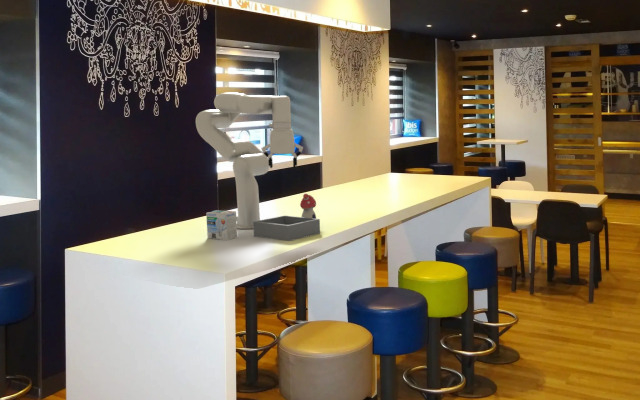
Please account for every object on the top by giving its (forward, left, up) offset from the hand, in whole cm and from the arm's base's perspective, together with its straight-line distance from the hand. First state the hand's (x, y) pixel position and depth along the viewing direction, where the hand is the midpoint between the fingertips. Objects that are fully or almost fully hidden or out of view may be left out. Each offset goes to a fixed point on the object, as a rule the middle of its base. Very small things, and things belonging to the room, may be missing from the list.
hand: (282, 167), depth 291 cm
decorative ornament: (+4, +11, -27) cm, 29 cm away
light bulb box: (-11, -25, -27) cm, 38 cm away
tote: (+8, -7, -27) cm, 29 cm away
